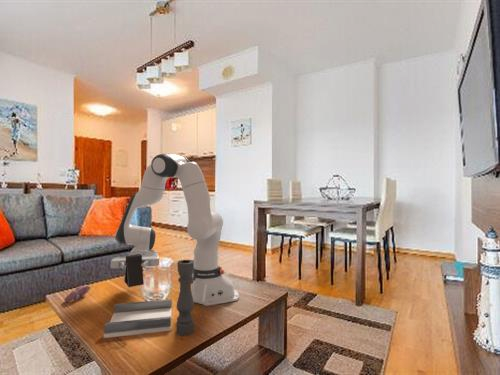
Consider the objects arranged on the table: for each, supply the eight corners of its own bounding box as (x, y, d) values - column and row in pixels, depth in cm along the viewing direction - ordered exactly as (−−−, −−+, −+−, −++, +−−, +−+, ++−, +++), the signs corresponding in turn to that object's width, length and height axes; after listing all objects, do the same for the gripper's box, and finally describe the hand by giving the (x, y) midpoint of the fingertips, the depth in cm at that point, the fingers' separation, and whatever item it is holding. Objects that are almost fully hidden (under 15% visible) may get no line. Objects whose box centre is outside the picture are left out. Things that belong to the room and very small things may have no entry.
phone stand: (143, 284, 120) (143, 256, 120) (128, 287, 117) (128, 258, 117) (138, 278, 128) (138, 252, 127) (124, 281, 124) (124, 253, 124)
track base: (171, 307, 120) (171, 305, 120) (170, 330, 102) (170, 327, 102) (115, 312, 115) (115, 310, 115) (103, 338, 97) (103, 335, 97)
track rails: (171, 306, 119) (171, 299, 119) (170, 326, 103) (170, 318, 103) (114, 311, 114) (114, 304, 114) (104, 333, 98) (104, 324, 97)
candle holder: (177, 337, 98) (178, 265, 97) (174, 328, 103) (175, 260, 103) (195, 333, 100) (196, 263, 100) (191, 325, 106) (192, 258, 105)
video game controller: (70, 307, 123) (77, 293, 122) (62, 301, 124) (68, 287, 123) (87, 297, 133) (93, 285, 132) (80, 292, 133) (85, 280, 133)
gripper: (114, 252, 132) (106, 260, 119) (160, 250, 137) (158, 258, 124) (114, 266, 132) (106, 275, 119) (160, 263, 137) (158, 272, 124)
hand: (133, 266), depth 121 cm, fingers closed on phone stand, 6 cm apart
